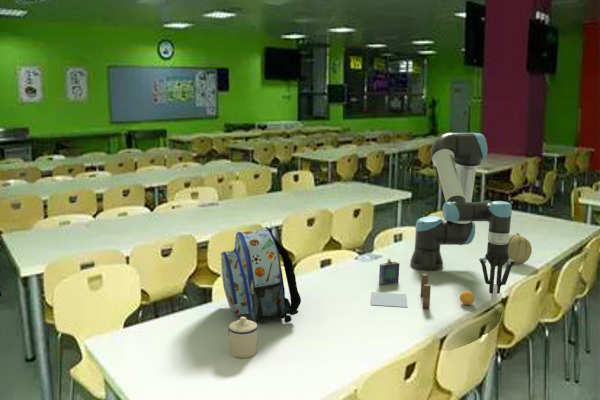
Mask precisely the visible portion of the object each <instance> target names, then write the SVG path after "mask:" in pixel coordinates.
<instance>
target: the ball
mask: <svg viewBox="0 0 600 400" xmlns="http://www.w3.org/2000/svg"><path fill="white" fill-rule="evenodd" d="M475 299H476V297H475V294H474V293H473V292H472V291H470V290H464V291H462V292H461V293H460V295H459V300H460V302H461V303H462V304H463V305H465V306H470V305H472V304H473V303H474V301H475Z"/></svg>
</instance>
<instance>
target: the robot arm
mask: <svg viewBox="0 0 600 400" xmlns="http://www.w3.org/2000/svg"><path fill="white" fill-rule="evenodd" d="M487 157H488V143H487V139H486V138H485V136H484V134H482V133H481V132H478V133H477V132H447V133H443V134H442V135H440V136H439V137H438V138H436V140H435V141H434V142H433V144H432V146H431V150H430V158H431V162H432V164H434V165H435V167H436V170H437V171H436V172H437V174H438V178H439V182H440V184H441V188H442V192H443V195H444V200H445V202H444V203H443V205H442V210H441V211H442V217H443V218H442V217H441V216H438V215H435V216H434V215H432V216H431V215H430V216H423V217H421V218H419V219H417V221H416V224H415V229H414V230H415V238H414V239H415V240H414V251H413V253H412V255H411V259H410V263H409V264H410V267H412V268H414V269H416V270H417V269H418V270H422V271H437V270H442V269H443V267H444V261H443V256H442V254H441V246H442V245H444V246H464V245H469V244H471V243H472V242H473V240H474V239H475V236H476V235H475V234H476V222H487V223H489V224H488V234H487V241H488V242H487V249H486V254H485V256H484V257H480V258H479V262H480V264H481V268H482V269H481V270H482V272H483V279H484V282H485V284H486V285H488V286H489V287H488V292H489V294H491V297H490V300H491V302H492V303H493V304H494V303H495V304H497V301H498V295H499V294H500V293H501V287H502V286H505V285H506V284H507V281H508V279H509V277H510V272H511V270H512V267H513V266H515V265H514V264H515V262H514V261H513V260H511V259H509V256H508V247H509V244H508V242H509V235H510V232H511V221H512V211H513V210H512V204H511V203H510V202H509V201H503V200H496V201H492V200H482V201H477V202H475V201H473V202H472V199H473V194H474V187H475V180H476V173H477V168H479V166H480V165H481V163H482V161H483V160H486V158H487ZM487 262H488V264H489V265H490V269H489V271H490V272H489V273H490V274H488V271H487V265H486V264H487ZM506 262H507V263H506ZM505 264H506V267H505V269H504V272H503V266H504V265H505ZM496 267H497V268H496ZM502 273H503V274H502ZM495 274H496V283H495Z"/></svg>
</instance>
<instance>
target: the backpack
mask: <svg viewBox="0 0 600 400" xmlns="http://www.w3.org/2000/svg"><path fill="white" fill-rule="evenodd" d="M220 256H221V258H220V260H221V264H220V265H221V278H222V284H223V285H222V286H223V289H224V294H225V298H226V300H227V302H228V306H229V307H230V310H231V311H232V313H233V315H234V316H235V317H238V316H240V315H242V314H243V315H248V314H250V316H251V317H252V318H253V320H254V322H255V323H256V324H258V323H261V321H267V320H272V319H275V318H279V319H281V320H283V319H284V320H283V321H284V323H285V324H286V323H290V322H291V321H292V316H295V315H297V314H298V313H299V310H298V309H299V307H300V304H301V302H302V297H301V295H300V293H299V291H298V286H297V280H296V279H297V278H296V275H295V274H296V273H295V271H294V266H293V260H292V259H291V257H290V254H289V252H288V250H287V249H286V248H285V247H284V246H283V245H282V244H281V243H280V242H279V240H278V238H277V237H275V236H274V233H273V231H272V229H271V228H269V227H268V226H264V227H262V228H260V229H256V230H248V231H245V232H241V231H237V232H236V234H235V241H234V249H233V250H229V251H222V252H221V253H220ZM280 257H281V260H282V263H283V268H284V273H285V277H286V282H287V287H288V291H289V296H290V298H287V297H285V295H286V292H285V291H286V290H285V285H284V284H285V283H284V278H283V270H282V265H281V264H282V263H281V260H280ZM289 299H290V300H289Z"/></svg>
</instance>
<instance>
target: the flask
mask: <svg viewBox="0 0 600 400" xmlns="http://www.w3.org/2000/svg"><path fill="white" fill-rule="evenodd" d="M391 260H392V259H390V258H388V259H387V262H384V263H383V262H382V263H380V264H379V272H378V273H379V276H378V285H380V286H385V285H393V284H399V280H400V278H399V277H400V262H397V261H391Z"/></svg>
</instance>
